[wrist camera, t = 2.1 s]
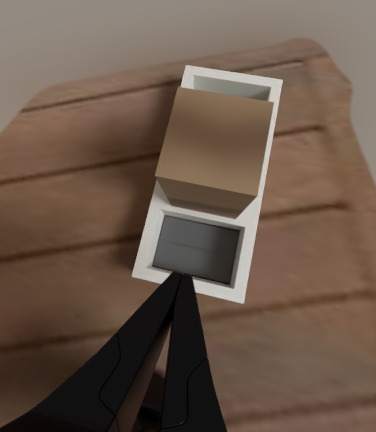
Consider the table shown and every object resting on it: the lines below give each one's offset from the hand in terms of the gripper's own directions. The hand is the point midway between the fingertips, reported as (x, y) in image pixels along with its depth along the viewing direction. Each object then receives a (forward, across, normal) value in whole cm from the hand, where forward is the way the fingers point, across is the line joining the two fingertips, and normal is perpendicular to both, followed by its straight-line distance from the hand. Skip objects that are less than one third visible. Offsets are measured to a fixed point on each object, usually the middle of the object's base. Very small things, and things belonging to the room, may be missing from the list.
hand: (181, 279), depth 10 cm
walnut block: (+13, 0, +2) cm, 13 cm away
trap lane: (+16, 0, +3) cm, 16 cm away
